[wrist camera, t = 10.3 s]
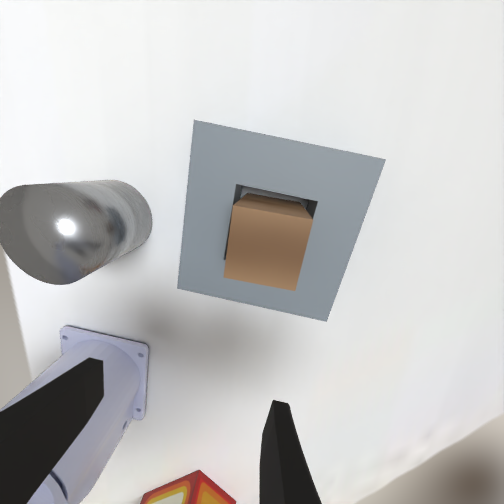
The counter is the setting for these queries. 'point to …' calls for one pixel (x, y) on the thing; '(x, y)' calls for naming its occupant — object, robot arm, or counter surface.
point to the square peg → (267, 241)
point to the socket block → (280, 181)
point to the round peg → (71, 227)
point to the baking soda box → (189, 492)
